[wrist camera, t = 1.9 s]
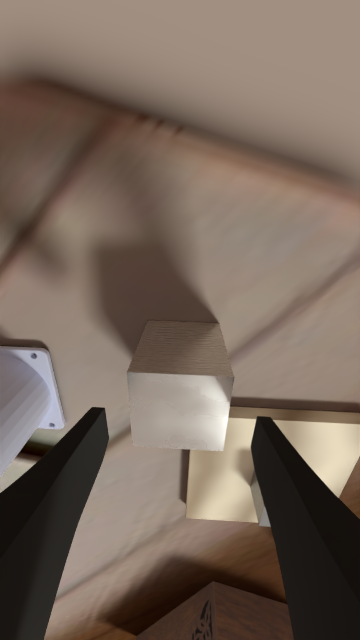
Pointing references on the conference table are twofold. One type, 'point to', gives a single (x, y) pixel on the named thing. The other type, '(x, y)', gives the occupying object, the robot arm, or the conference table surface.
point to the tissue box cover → (223, 617)
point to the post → (259, 502)
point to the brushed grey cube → (180, 386)
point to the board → (237, 464)
